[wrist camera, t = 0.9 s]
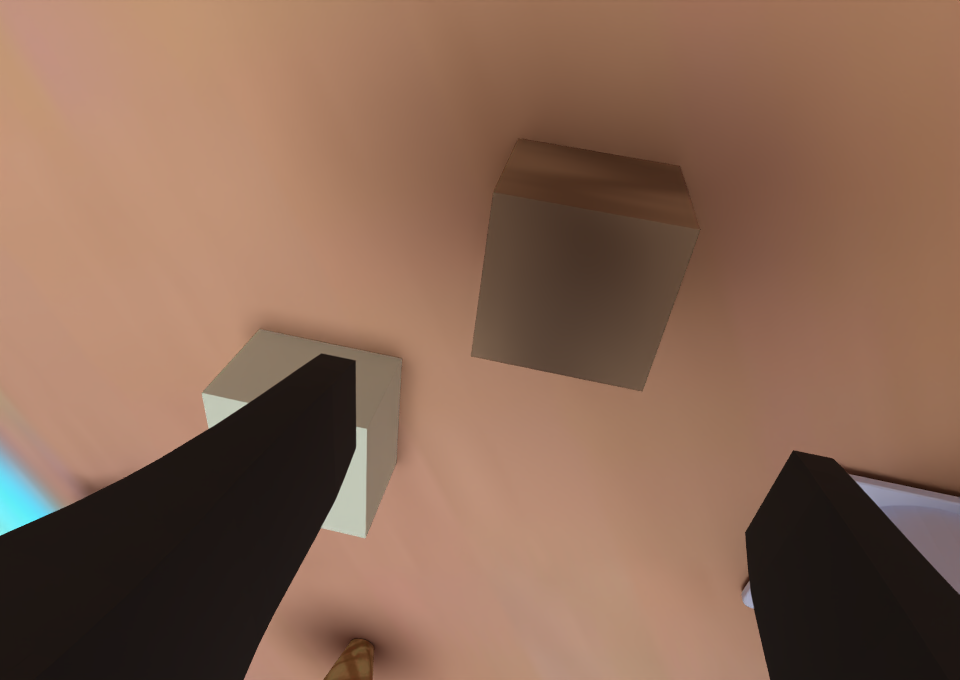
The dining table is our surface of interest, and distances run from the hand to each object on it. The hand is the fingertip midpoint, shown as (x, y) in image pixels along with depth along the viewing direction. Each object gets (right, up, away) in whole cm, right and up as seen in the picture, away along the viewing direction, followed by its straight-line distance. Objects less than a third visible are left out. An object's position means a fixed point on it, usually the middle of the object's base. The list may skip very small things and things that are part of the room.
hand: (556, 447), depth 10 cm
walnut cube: (+2, +5, +8) cm, 10 cm away
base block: (-7, 0, +14) cm, 15 cm away
